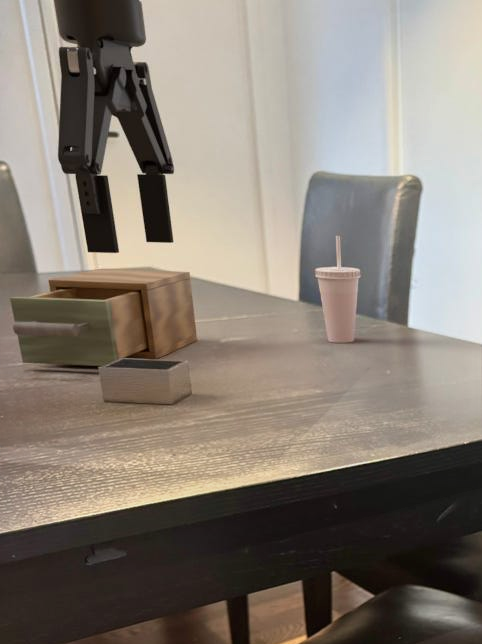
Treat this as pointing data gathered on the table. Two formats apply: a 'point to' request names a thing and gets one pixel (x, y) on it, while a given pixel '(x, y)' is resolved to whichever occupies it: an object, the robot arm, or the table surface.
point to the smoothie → (339, 299)
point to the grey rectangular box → (145, 381)
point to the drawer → (80, 326)
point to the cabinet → (148, 303)
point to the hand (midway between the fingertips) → (133, 247)
